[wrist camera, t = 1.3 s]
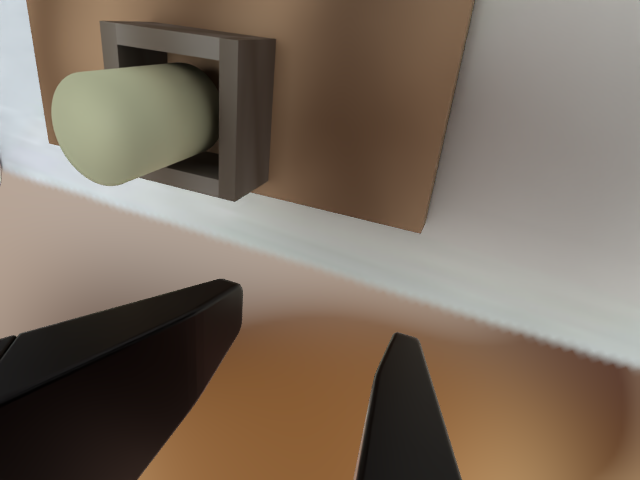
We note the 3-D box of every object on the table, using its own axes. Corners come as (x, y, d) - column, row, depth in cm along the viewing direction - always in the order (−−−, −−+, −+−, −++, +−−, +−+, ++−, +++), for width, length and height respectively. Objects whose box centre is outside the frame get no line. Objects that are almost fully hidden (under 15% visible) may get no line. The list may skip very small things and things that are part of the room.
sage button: (224, 69, 17) (138, 81, 13) (223, 161, 18) (145, 196, 14) (145, 56, 18) (43, 64, 14) (151, 145, 19) (60, 174, 15)
